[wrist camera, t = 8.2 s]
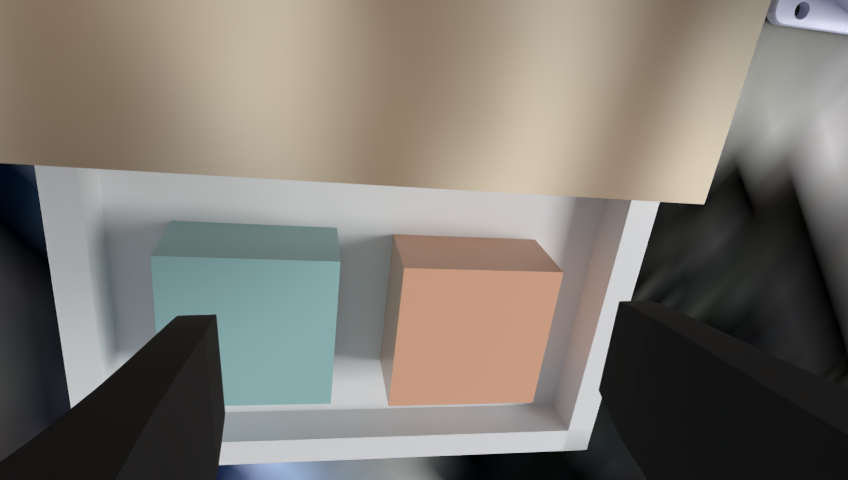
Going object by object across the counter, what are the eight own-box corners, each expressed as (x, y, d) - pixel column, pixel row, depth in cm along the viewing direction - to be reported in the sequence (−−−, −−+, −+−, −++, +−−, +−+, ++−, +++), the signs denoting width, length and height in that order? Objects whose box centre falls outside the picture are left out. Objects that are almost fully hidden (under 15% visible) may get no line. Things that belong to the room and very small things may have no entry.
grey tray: (633, 164, 20) (665, 182, 18) (566, 415, 24) (586, 450, 22) (61, 122, 16) (30, 140, 14) (100, 428, 20) (80, 471, 19)
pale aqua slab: (330, 403, 18) (328, 357, 20) (340, 261, 16) (337, 227, 18) (161, 407, 17) (178, 357, 19) (150, 255, 15) (171, 220, 17)
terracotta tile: (532, 402, 20) (510, 359, 22) (563, 272, 18) (535, 239, 20) (388, 406, 19) (380, 360, 21) (404, 268, 17) (393, 234, 19)
